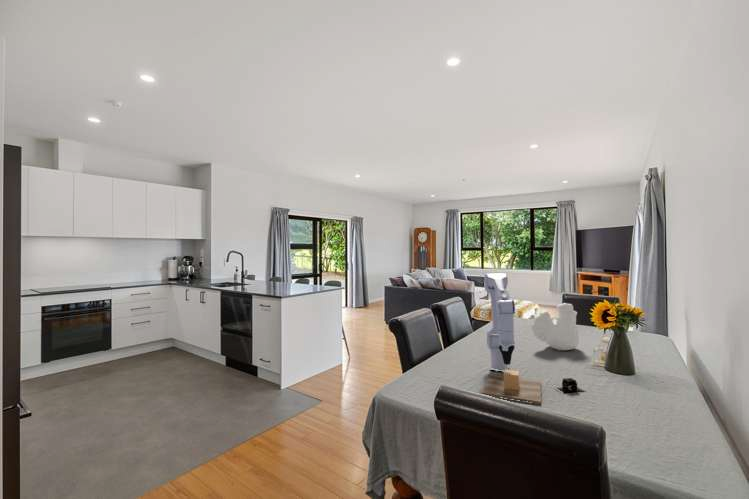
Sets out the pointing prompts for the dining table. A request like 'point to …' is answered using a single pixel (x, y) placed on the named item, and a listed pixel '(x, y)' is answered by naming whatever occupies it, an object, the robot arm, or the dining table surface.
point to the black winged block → (572, 384)
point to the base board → (526, 392)
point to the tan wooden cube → (511, 379)
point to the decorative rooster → (557, 328)
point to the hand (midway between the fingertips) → (507, 364)
